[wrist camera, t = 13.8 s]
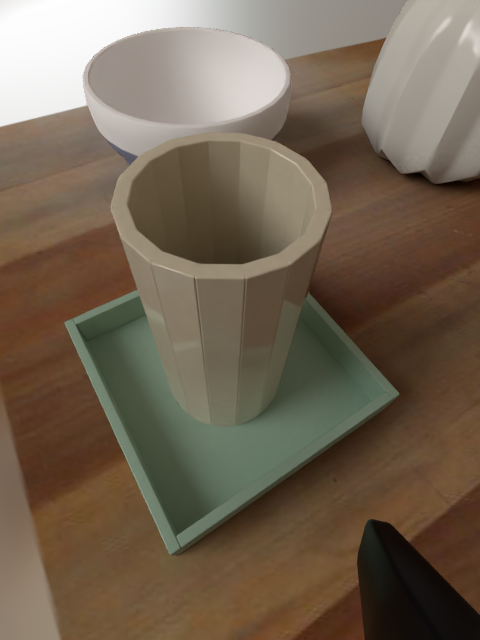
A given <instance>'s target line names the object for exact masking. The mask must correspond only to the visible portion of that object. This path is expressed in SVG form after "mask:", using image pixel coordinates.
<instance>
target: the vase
mask: <svg viewBox="0 0 480 640" xmlns="http://www.w3.org/2000/svg"><path fill="white" fill-rule="evenodd" d="M361 124H362V126H363V128H364V130H365V132H366V134H367V137H368V139H369V141H370V143H371V145H372V147H373V149H374V150H375V152H376V154H377V155H378V156H379V157H381V158H384V159H387V160H390V161H391V163H392V164H393V165H394V166H395V168H396V169H397V170H398V171H399V172H400V173H401V174H411V173H421V174H422V175H423V176H425V177H426V178H427V179H428V180H429V181H431V182H432V183H434V184H441V183H446V182H451V181H456V180H458V181H463V182H468V181H472V180H475V179H478V178H480V0H407V1H406V2H405V3H404V5H403V7H402V9H401V11H400V12H399V14H398V16H397V18H396V20H395V22H394V24H393V26H392V28H391V30H390V32H389V34H388V36H387V38H386V40H385V42H384V45H383V47H382V49H381V52H380V54H379V57H378V59H377V61H376V64H375V66H374V69H373V73H372V76H371V79H370V83H369V87H368V93H367V96H366V99H365V103H364V106H363V111H362V119H361Z"/></svg>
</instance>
